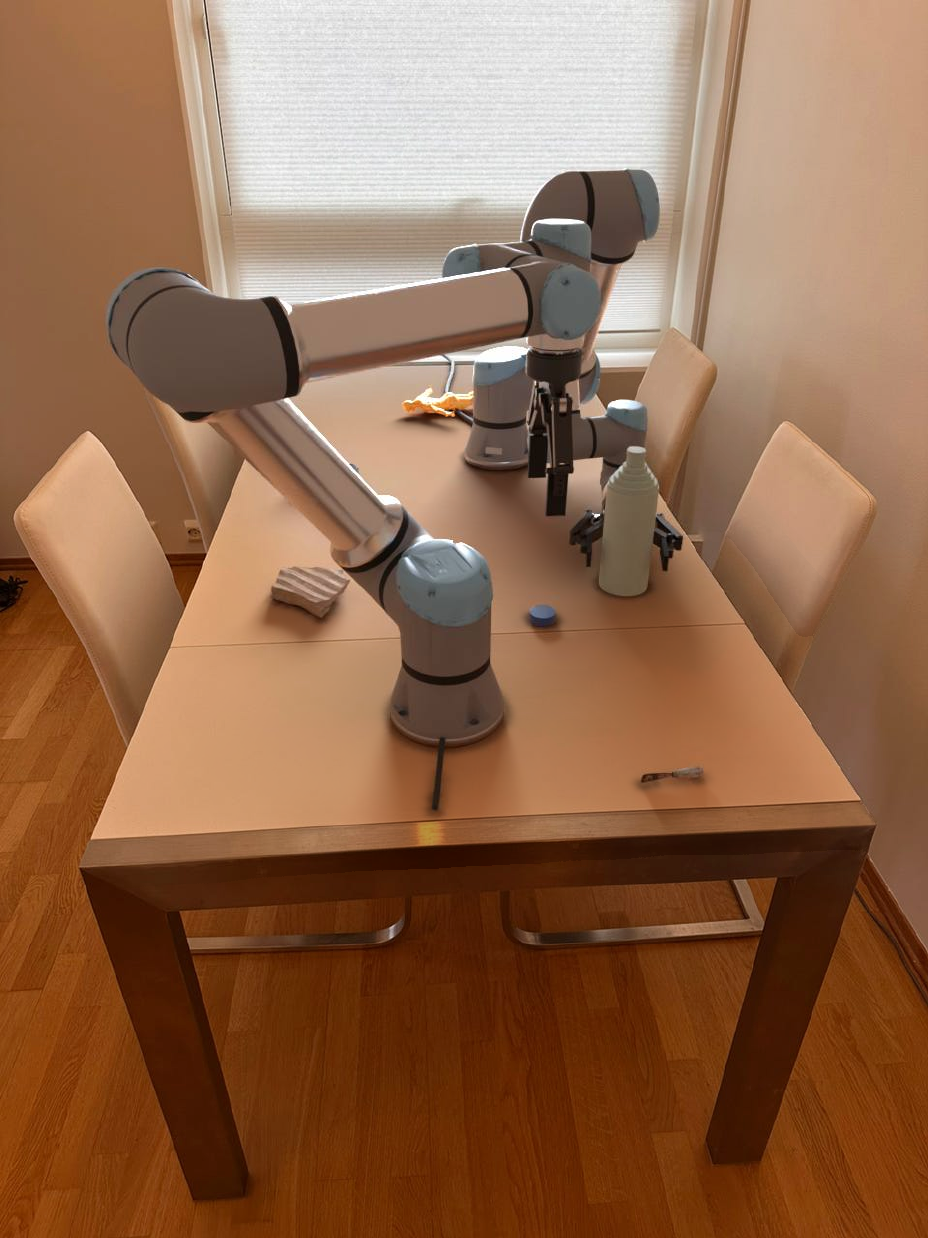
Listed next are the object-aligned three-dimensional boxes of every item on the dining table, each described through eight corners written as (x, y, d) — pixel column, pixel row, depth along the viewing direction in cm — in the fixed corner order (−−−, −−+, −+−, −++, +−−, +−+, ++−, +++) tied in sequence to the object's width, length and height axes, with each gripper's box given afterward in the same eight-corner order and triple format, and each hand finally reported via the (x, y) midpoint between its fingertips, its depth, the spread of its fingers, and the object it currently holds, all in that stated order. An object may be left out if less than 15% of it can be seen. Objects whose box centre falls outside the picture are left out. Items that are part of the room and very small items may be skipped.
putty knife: (703, 777, 109) (705, 767, 109) (642, 788, 108) (644, 777, 107) (700, 772, 110) (702, 762, 109) (639, 782, 109) (640, 771, 108)
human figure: (395, 413, 223) (394, 398, 221) (438, 390, 237) (438, 375, 235) (462, 429, 215) (462, 413, 213) (502, 404, 229) (503, 388, 227)
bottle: (608, 568, 155) (621, 436, 142) (653, 579, 152) (670, 445, 139) (591, 589, 149) (602, 453, 136) (637, 600, 146) (653, 463, 133)
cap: (529, 626, 139) (530, 618, 139) (529, 612, 143) (529, 604, 142) (555, 626, 139) (556, 618, 138) (554, 613, 143) (554, 605, 142)
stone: (359, 584, 150) (358, 571, 149) (323, 619, 141) (322, 605, 140) (294, 571, 155) (292, 558, 153) (254, 604, 145) (252, 590, 144)
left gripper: (606, 373, 108) (591, 531, 119) (562, 323, 129) (553, 462, 140) (545, 375, 107) (536, 534, 118) (511, 324, 128) (506, 464, 140)
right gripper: (686, 526, 163) (699, 586, 145) (555, 520, 165) (551, 578, 147) (692, 489, 159) (705, 544, 141) (557, 483, 161) (554, 537, 143)
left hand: (545, 495), depth 129 cm, fingers open, 13 cm apart
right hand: (627, 561), depth 144 cm, fingers open, 11 cm apart
